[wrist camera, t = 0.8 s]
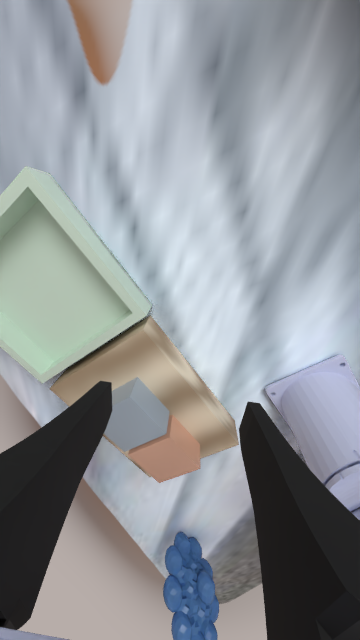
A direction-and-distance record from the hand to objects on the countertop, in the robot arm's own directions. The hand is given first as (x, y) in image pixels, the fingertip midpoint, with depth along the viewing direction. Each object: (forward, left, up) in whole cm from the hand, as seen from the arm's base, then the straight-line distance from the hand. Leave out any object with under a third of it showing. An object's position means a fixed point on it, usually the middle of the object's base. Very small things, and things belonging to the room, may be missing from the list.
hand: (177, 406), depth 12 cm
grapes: (-34, +21, -10) cm, 42 cm away
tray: (+10, +8, -10) cm, 16 cm away
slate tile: (-3, +8, -7) cm, 12 cm away
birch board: (-5, +8, -10) cm, 14 cm away
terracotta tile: (-9, +8, -7) cm, 14 cm away
